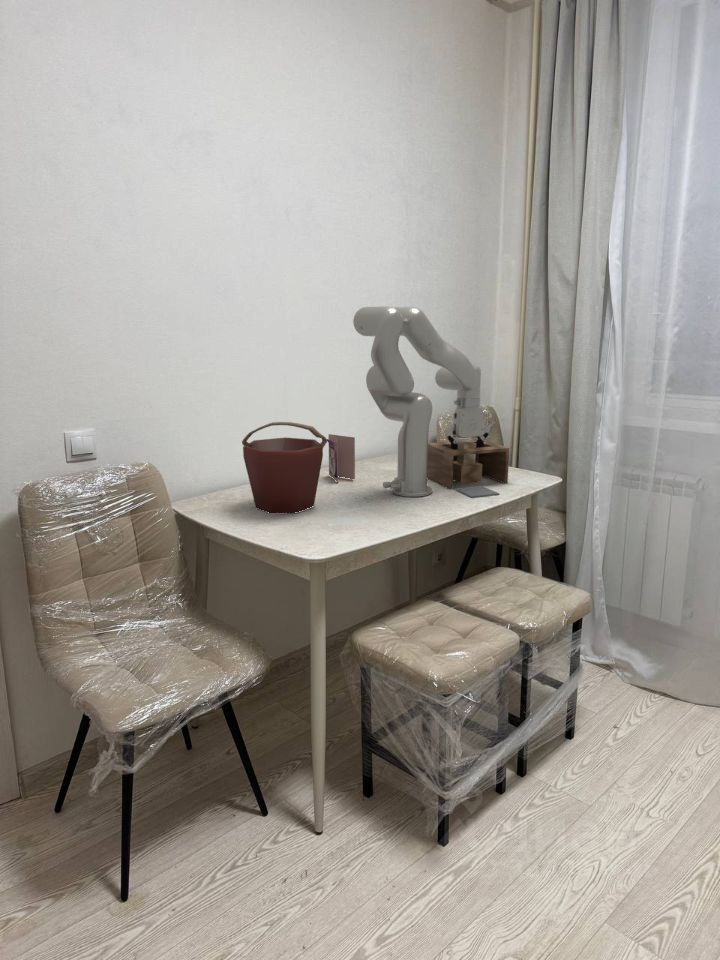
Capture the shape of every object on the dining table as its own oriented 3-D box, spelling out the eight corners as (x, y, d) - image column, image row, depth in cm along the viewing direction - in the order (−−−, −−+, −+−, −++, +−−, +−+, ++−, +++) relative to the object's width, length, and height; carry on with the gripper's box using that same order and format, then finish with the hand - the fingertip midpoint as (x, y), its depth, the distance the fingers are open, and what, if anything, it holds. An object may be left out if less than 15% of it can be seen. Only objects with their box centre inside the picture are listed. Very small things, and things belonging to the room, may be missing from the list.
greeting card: (326, 476, 234) (326, 434, 230) (346, 474, 236) (346, 433, 232) (335, 483, 223) (335, 439, 220) (356, 482, 225) (356, 438, 222)
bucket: (338, 501, 202) (337, 419, 196) (305, 521, 182) (303, 431, 176) (267, 493, 211) (264, 415, 205) (228, 512, 191) (224, 425, 185)
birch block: (463, 464, 224) (464, 444, 222) (456, 462, 228) (457, 442, 226) (475, 463, 225) (476, 443, 223) (468, 461, 229) (469, 441, 228)
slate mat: (471, 498, 205) (471, 496, 205) (455, 490, 214) (455, 488, 214) (499, 494, 209) (499, 493, 209) (482, 487, 218) (482, 486, 218)
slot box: (449, 489, 216) (450, 452, 213) (424, 477, 232) (425, 443, 229) (507, 483, 224) (509, 448, 221) (479, 471, 240) (480, 439, 237)
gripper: (450, 406, 215) (449, 457, 219) (496, 402, 221) (494, 453, 225) (439, 403, 222) (439, 453, 226) (484, 400, 228) (483, 449, 232)
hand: (467, 453), depth 226 cm, fingers open, 9 cm apart
